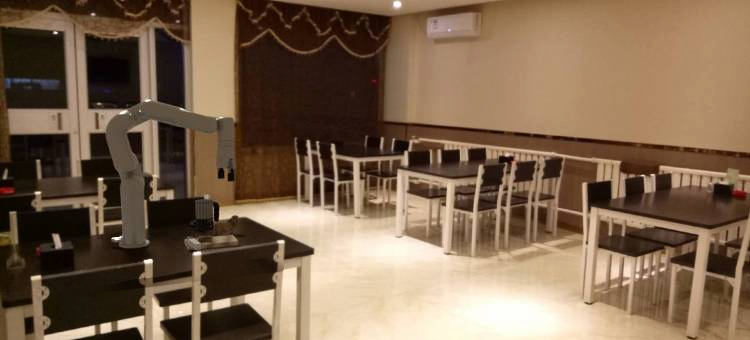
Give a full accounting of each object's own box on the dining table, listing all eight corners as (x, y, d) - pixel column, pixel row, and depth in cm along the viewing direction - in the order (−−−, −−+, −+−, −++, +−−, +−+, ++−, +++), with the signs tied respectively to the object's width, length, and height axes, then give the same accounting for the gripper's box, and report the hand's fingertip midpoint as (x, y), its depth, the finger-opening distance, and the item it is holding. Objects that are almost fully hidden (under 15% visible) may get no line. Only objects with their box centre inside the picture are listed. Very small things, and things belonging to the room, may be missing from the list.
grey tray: (188, 250, 250) (187, 240, 249) (184, 243, 260) (184, 234, 260) (238, 245, 259) (238, 235, 258) (232, 239, 270) (232, 230, 269)
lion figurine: (236, 231, 285) (236, 213, 284) (241, 233, 281) (241, 215, 280) (208, 235, 276) (208, 217, 275) (213, 237, 272) (212, 219, 271)
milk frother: (208, 232, 283) (207, 202, 281) (179, 229, 286) (179, 200, 284) (222, 225, 296) (221, 197, 294) (195, 223, 300) (194, 196, 298)
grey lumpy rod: (185, 243, 252) (185, 237, 251) (191, 242, 253) (191, 236, 253) (195, 250, 241) (195, 243, 241) (201, 249, 243) (201, 242, 243)
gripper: (209, 142, 267) (210, 178, 269) (227, 145, 254) (227, 183, 257) (224, 141, 272) (224, 177, 274) (242, 144, 259) (242, 181, 262)
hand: (226, 179), depth 265 cm, fingers open, 9 cm apart
